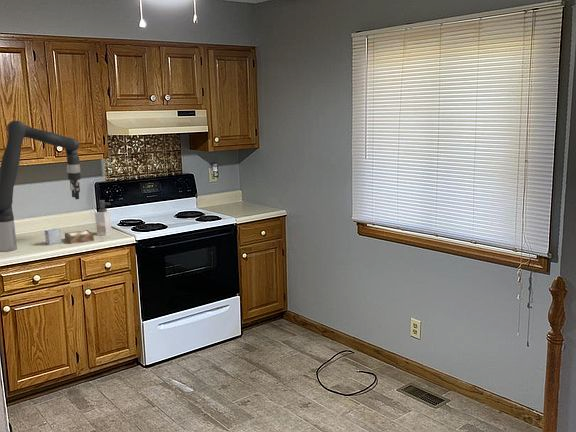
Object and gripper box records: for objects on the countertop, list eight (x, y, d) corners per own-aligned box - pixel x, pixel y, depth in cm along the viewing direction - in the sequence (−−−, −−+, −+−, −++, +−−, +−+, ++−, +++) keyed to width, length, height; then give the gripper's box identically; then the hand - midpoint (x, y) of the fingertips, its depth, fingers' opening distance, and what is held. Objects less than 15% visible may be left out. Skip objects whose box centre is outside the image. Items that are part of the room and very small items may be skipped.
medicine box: (58, 241, 354) (56, 227, 352) (61, 242, 351) (60, 228, 349) (45, 244, 348) (44, 230, 346) (49, 245, 345) (48, 231, 343)
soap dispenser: (109, 235, 367) (106, 201, 363) (97, 235, 370) (94, 201, 365) (115, 233, 373) (112, 199, 369) (103, 232, 376) (100, 199, 371)
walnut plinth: (70, 243, 348) (69, 237, 347) (65, 239, 359) (64, 232, 359) (93, 240, 355) (93, 233, 354) (88, 236, 367) (87, 229, 366)
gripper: (64, 170, 353) (66, 197, 356) (70, 173, 341) (71, 200, 344) (77, 170, 357) (79, 196, 360) (83, 172, 345) (84, 199, 348)
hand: (75, 198), depth 352 cm, fingers open, 8 cm apart
